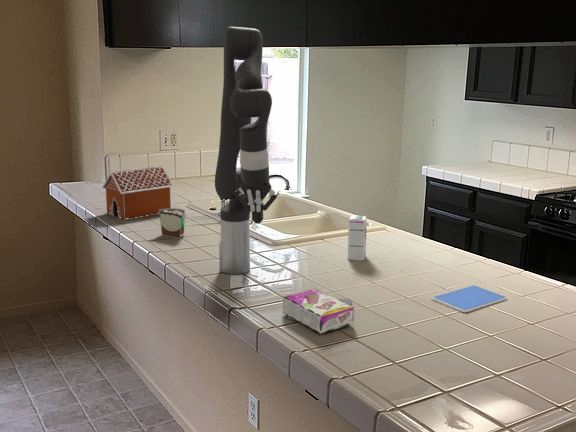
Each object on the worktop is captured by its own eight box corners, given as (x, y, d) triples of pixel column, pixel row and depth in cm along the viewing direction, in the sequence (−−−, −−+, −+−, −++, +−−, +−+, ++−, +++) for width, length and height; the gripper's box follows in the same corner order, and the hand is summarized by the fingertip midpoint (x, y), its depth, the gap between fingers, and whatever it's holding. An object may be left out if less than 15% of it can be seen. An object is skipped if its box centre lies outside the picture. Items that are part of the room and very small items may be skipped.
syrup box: (364, 260, 214) (366, 219, 210) (347, 259, 215) (348, 218, 211) (365, 255, 219) (367, 215, 216) (348, 254, 220) (350, 214, 217)
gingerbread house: (102, 213, 274) (99, 168, 269) (154, 205, 291) (152, 162, 286) (123, 221, 261) (120, 174, 256) (175, 212, 278) (174, 167, 273)
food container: (193, 236, 241) (193, 210, 238) (183, 239, 236) (182, 213, 233) (170, 231, 247) (169, 206, 245) (159, 234, 242) (158, 209, 240)
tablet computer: (473, 288, 191) (473, 284, 191) (508, 301, 181) (509, 296, 181) (429, 301, 180) (430, 296, 180) (464, 315, 170) (465, 311, 170)
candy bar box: (314, 287, 172) (355, 306, 160) (314, 304, 174) (354, 324, 161) (282, 295, 166) (321, 316, 153) (281, 313, 167) (320, 335, 154)
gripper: (282, 161, 168) (284, 219, 175) (236, 157, 171) (240, 214, 179) (273, 171, 161) (276, 230, 169) (226, 167, 165) (230, 225, 172)
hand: (257, 222), depth 174 cm, fingers closed
